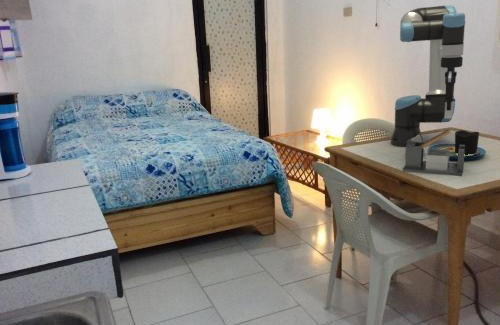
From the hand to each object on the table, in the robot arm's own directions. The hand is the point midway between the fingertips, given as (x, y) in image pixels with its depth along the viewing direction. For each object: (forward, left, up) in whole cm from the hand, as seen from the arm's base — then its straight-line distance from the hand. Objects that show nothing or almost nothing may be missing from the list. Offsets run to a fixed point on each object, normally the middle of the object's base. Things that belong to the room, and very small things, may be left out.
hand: (448, 118), depth 171 cm
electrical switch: (-16, -14, -22) cm, 30 cm away
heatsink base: (0, -5, -21) cm, 22 cm away
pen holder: (-23, +6, -22) cm, 32 cm away
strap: (0, -5, -10) cm, 11 cm away
